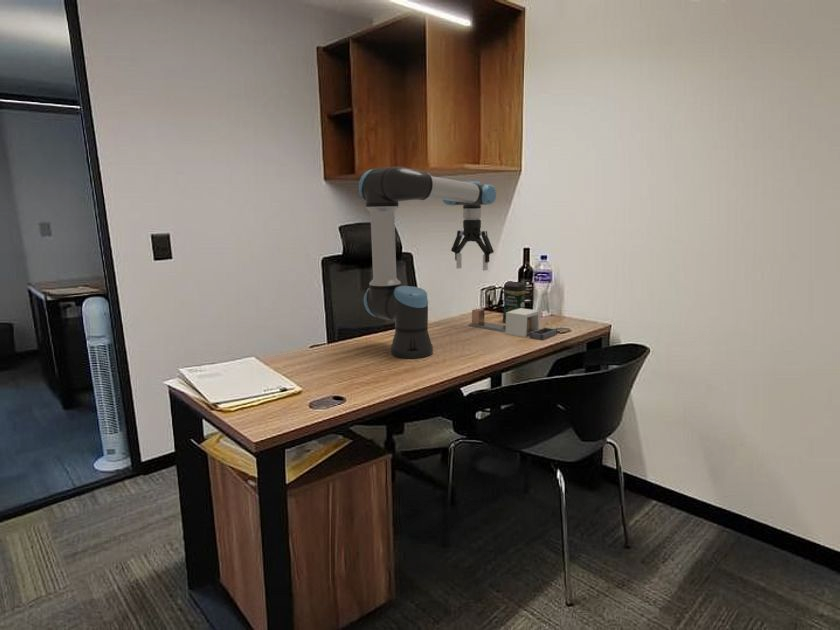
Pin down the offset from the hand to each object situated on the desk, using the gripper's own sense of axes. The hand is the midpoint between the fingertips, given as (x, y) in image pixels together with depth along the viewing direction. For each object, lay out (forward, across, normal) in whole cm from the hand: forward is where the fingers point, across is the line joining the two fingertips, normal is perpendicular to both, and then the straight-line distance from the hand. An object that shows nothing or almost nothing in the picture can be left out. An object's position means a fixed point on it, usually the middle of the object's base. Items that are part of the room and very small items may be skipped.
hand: (471, 269), depth 223 cm
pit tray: (+25, -35, +1) cm, 43 cm away
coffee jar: (+25, -13, -15) cm, 32 cm away
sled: (+24, -15, 0) cm, 29 cm away
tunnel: (+25, -25, 0) cm, 35 cm away
